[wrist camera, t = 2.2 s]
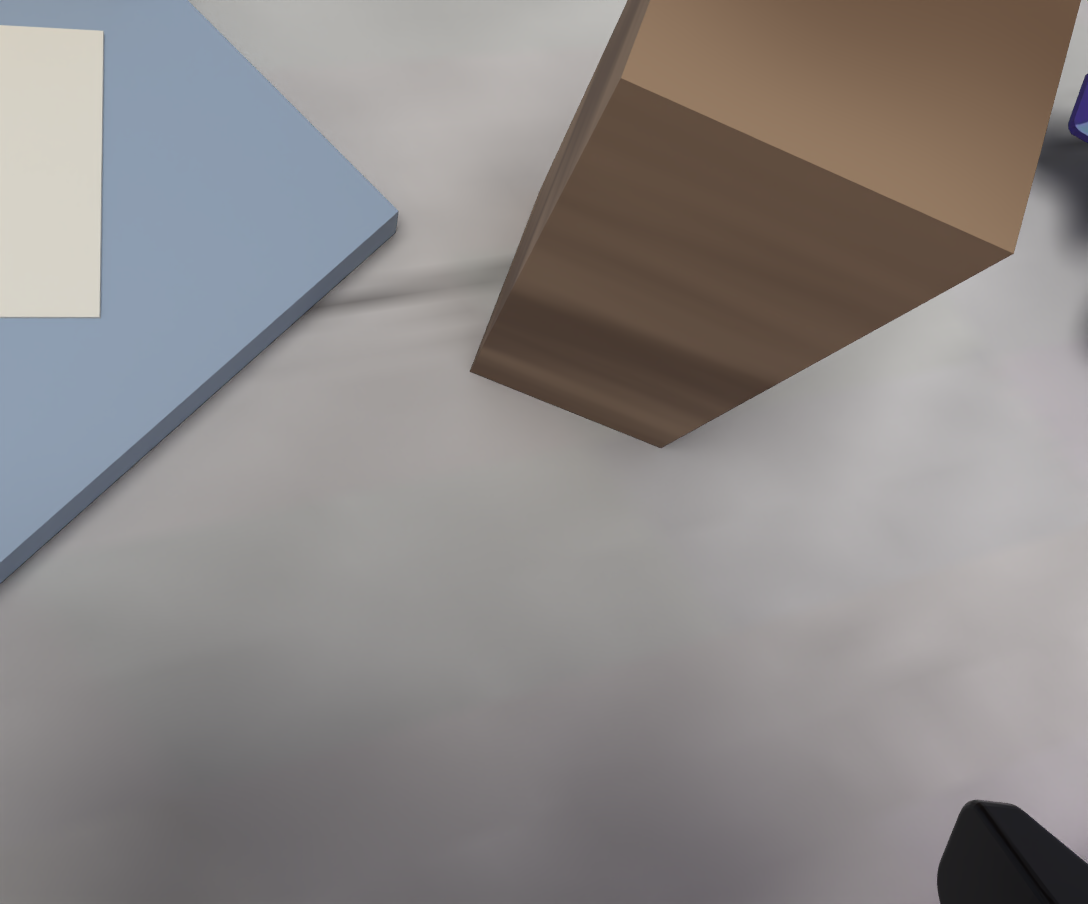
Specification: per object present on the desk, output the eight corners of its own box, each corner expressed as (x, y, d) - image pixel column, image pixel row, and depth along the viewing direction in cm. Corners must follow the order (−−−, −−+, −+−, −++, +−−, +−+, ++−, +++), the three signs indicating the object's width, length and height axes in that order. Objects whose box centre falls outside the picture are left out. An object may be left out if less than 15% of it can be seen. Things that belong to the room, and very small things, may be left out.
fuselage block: (661, 448, 23) (1013, 253, 11) (469, 371, 23) (620, 76, 10) (721, 268, 24) (1104, -91, 12) (540, 190, 24) (751, -268, 11)
